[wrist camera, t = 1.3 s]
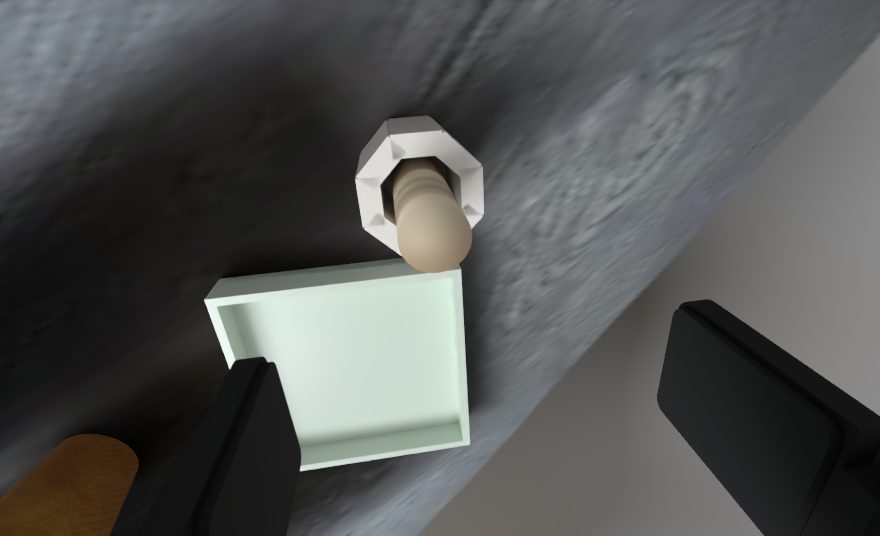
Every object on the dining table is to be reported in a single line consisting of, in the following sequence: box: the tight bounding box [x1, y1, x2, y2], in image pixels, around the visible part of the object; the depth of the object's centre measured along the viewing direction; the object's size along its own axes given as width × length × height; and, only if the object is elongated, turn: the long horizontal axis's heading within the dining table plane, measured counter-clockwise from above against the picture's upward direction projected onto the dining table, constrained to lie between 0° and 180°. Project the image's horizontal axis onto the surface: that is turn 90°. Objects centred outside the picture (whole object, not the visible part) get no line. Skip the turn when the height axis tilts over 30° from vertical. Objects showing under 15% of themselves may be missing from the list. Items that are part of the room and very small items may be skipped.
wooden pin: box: [391, 156, 472, 273], centre depth 22 cm, size 3×3×12 cm
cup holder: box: [355, 115, 484, 256], centre depth 25 cm, size 7×7×7 cm
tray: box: [204, 258, 470, 471], centre depth 33 cm, size 17×17×3 cm
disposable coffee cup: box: [0, 434, 139, 536], centre depth 30 cm, size 10×10×12 cm
